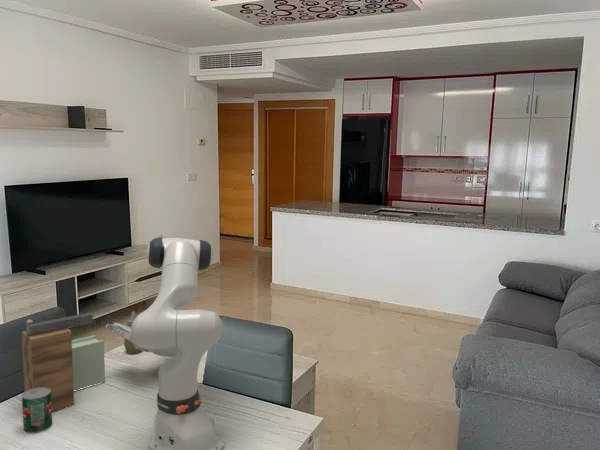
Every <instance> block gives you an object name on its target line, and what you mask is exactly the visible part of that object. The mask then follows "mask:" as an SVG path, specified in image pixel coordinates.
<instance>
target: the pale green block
mask: <svg viewBox="0 0 600 450" xmlns="http://www.w3.org/2000/svg"><path fill="white" fill-rule="evenodd" d="M96 337H97V336H96V335H95V334H94V335H90V336H86V337H85V336H84V337H81V338H76V339H73V340H72V363H73V391H74V390H78V389H80V388H84V387H87V386H90V385H94V384H98V383H101V382H105V383H106V368H105V340H102V339H101V340H99V339H97V338H96Z"/></svg>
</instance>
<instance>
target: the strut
mask: <svg viewBox="0 0 600 450" xmlns="http://www.w3.org/2000/svg"><path fill="white" fill-rule="evenodd" d="M93 317H94V315H93V313H90V312H86V313H81V314H75V315H70V316H65V317H60V318H56V319H50V320H46V321H45V320H44V321H39V322H35V323H33V324H28V325H27V324H25V326H26V331H27V334H28V335H29V336H33V335H38V334H43V333H48V332H52V331H57V330H62V329H66V328H68V329H70V328H75V327H80V326H84V325H88V324H93V322H94V319H93Z"/></svg>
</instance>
